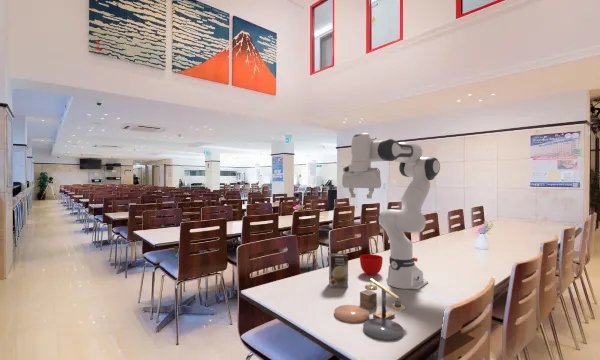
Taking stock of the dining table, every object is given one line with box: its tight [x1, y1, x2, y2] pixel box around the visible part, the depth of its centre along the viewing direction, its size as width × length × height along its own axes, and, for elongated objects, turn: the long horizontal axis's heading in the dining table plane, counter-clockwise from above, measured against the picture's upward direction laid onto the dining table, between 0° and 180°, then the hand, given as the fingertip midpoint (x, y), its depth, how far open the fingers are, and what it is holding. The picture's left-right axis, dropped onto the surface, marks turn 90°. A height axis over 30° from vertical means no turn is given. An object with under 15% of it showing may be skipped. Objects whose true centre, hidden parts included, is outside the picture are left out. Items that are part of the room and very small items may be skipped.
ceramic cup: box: [359, 253, 384, 276], centre depth 180 cm, size 13×17×10 cm
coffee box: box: [328, 253, 349, 288], centre depth 159 cm, size 9×6×16 cm
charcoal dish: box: [362, 318, 404, 342], centre depth 111 cm, size 14×14×1 cm
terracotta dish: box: [333, 304, 370, 324], centre depth 124 cm, size 14×14×1 cm
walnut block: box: [359, 289, 378, 310], centre depth 133 cm, size 5×5×6 cm
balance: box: [364, 278, 406, 320], centre depth 122 cm, size 7×18×14 cm, turn 35°
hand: (360, 198), depth 141 cm, fingers open, 8 cm apart
